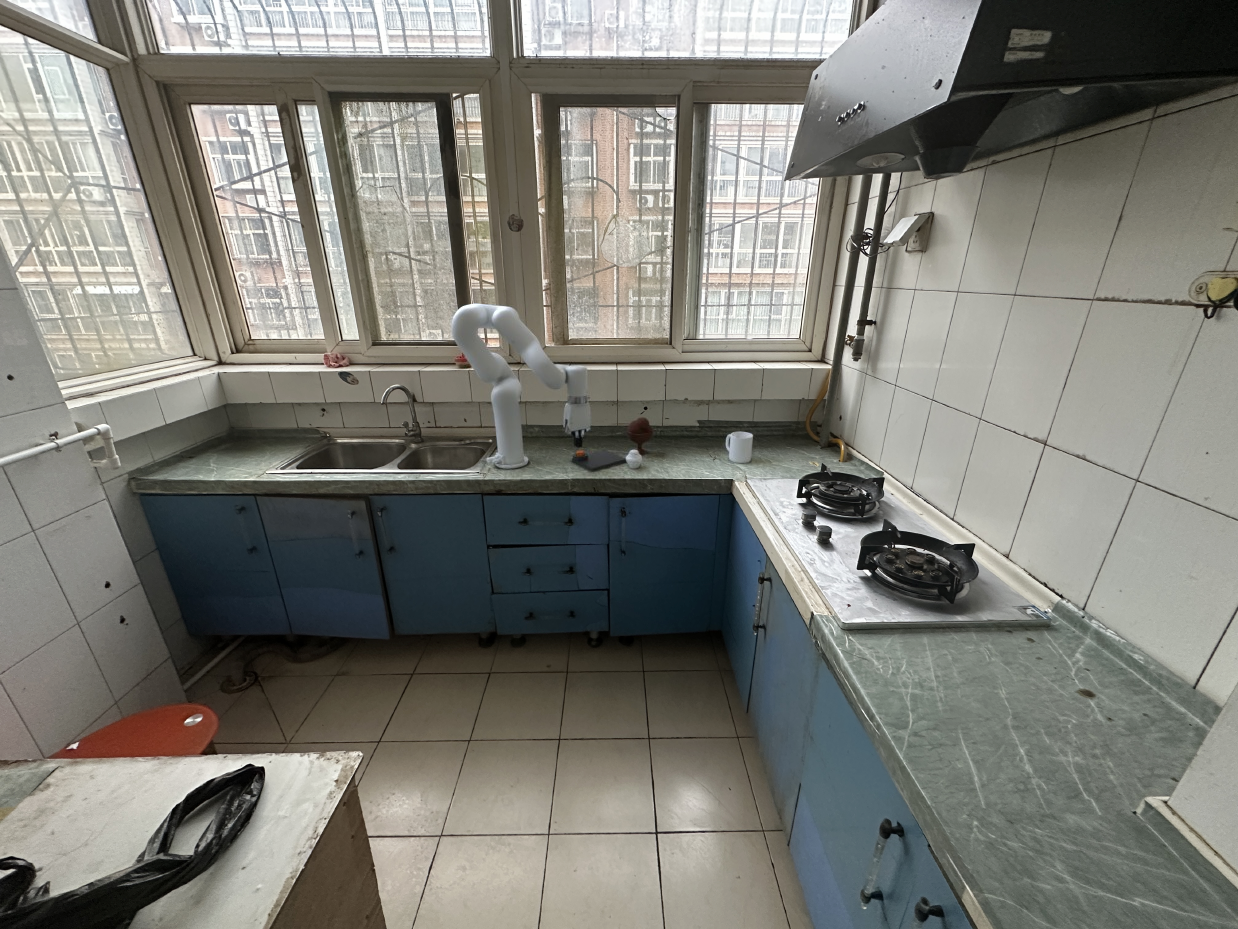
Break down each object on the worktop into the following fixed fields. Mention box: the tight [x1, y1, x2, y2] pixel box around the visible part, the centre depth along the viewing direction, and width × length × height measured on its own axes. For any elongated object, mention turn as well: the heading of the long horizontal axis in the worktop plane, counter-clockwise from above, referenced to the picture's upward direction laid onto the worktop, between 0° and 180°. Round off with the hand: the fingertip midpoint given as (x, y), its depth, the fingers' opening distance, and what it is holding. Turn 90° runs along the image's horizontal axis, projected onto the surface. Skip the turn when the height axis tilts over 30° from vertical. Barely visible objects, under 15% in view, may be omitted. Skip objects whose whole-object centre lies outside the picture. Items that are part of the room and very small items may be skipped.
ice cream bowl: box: [626, 416, 654, 456], centre depth 199 cm, size 11×11×15 cm
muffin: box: [625, 449, 643, 469], centre depth 186 cm, size 6×6×7 cm
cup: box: [725, 431, 754, 464], centre depth 193 cm, size 8×12×10 cm
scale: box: [571, 449, 627, 472], centre depth 192 cm, size 16×14×3 cm
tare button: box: [576, 450, 584, 456], centre depth 192 cm, size 3×3×2 cm
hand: (578, 446), depth 191 cm, fingers closed
